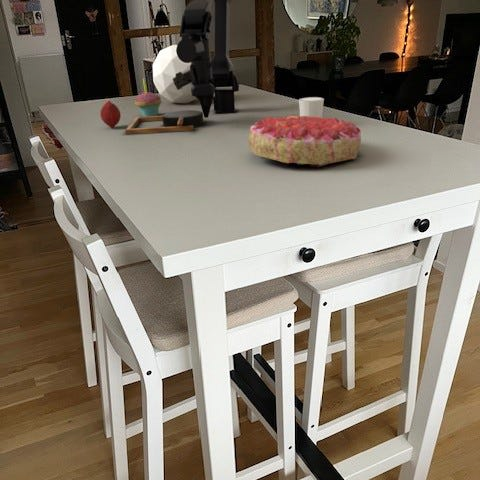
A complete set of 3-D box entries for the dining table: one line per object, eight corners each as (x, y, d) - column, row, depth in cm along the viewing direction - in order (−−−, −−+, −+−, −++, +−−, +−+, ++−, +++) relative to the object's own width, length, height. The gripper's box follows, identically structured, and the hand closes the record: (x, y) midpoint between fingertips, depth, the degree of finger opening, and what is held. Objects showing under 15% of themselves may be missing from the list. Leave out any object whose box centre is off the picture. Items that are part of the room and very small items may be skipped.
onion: (126, 127, 156) (121, 98, 152) (110, 130, 152) (105, 101, 148) (115, 125, 159) (110, 97, 155) (99, 128, 156) (94, 100, 152)
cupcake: (160, 117, 166) (155, 76, 160) (134, 118, 167) (128, 78, 161) (164, 112, 174) (159, 73, 167) (139, 114, 174) (133, 74, 168)
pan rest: (196, 117, 163) (196, 113, 162) (193, 130, 146) (192, 126, 146) (136, 121, 163) (135, 117, 163) (125, 134, 147) (125, 129, 146)
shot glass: (307, 129, 140) (307, 101, 137) (293, 125, 146) (293, 98, 142) (328, 125, 143) (329, 98, 139) (313, 122, 148) (314, 95, 144)
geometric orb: (195, 122, 192) (206, 78, 174) (143, 104, 189) (148, 58, 171) (206, 88, 200) (217, 43, 183) (155, 71, 197) (162, 23, 180)
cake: (231, 162, 110) (232, 122, 106) (267, 140, 131) (268, 107, 127) (347, 175, 103) (352, 133, 99) (365, 150, 124) (371, 115, 120)
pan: (204, 119, 160) (203, 108, 158) (202, 133, 143) (201, 120, 141) (165, 121, 160) (163, 110, 158) (159, 135, 143) (157, 123, 141)
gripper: (174, 58, 154) (181, 114, 162) (169, 64, 138) (177, 125, 146) (212, 55, 154) (216, 111, 162) (211, 61, 138) (216, 122, 146)
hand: (206, 117), depth 154 cm, fingers closed, pressing on pan
